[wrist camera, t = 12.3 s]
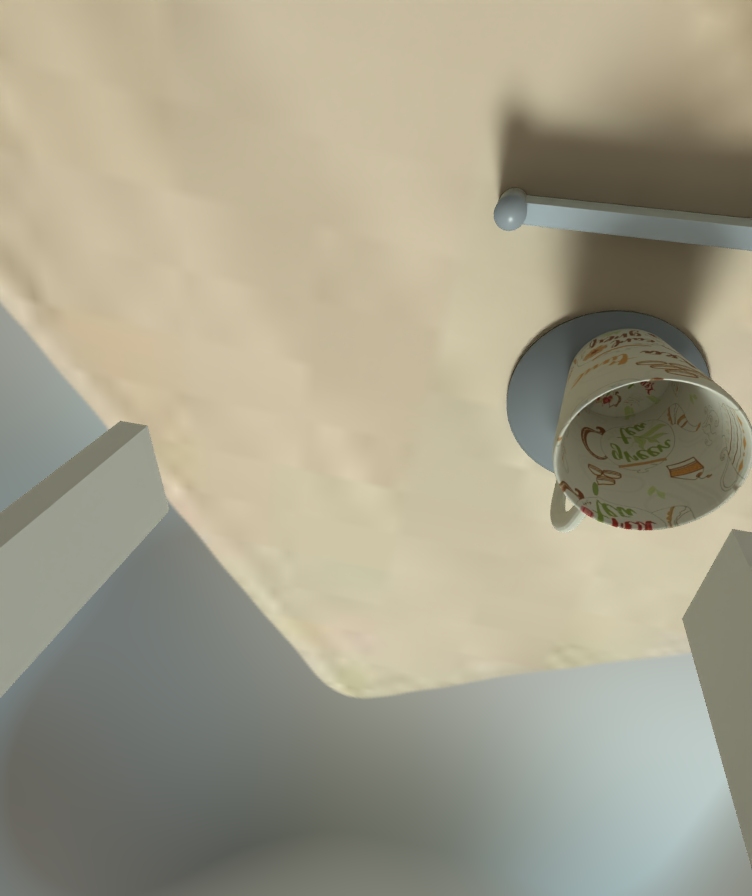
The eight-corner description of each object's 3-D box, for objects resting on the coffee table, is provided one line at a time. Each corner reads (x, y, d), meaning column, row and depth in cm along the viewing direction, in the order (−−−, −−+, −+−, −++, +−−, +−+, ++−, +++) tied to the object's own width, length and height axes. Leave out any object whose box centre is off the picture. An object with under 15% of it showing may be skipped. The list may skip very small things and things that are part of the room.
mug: (729, 338, 29) (803, 420, 21) (612, 498, 37) (634, 605, 28) (589, 287, 30) (609, 348, 22) (501, 454, 37) (491, 548, 29)
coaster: (529, 297, 31) (529, 299, 31) (744, 327, 29) (747, 329, 29) (491, 460, 38) (491, 463, 38) (666, 494, 36) (667, 498, 36)
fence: (501, 186, 29) (497, 194, 26) (860, 223, 26) (907, 237, 22) (496, 217, 30) (491, 228, 26) (842, 256, 27) (885, 275, 23)
